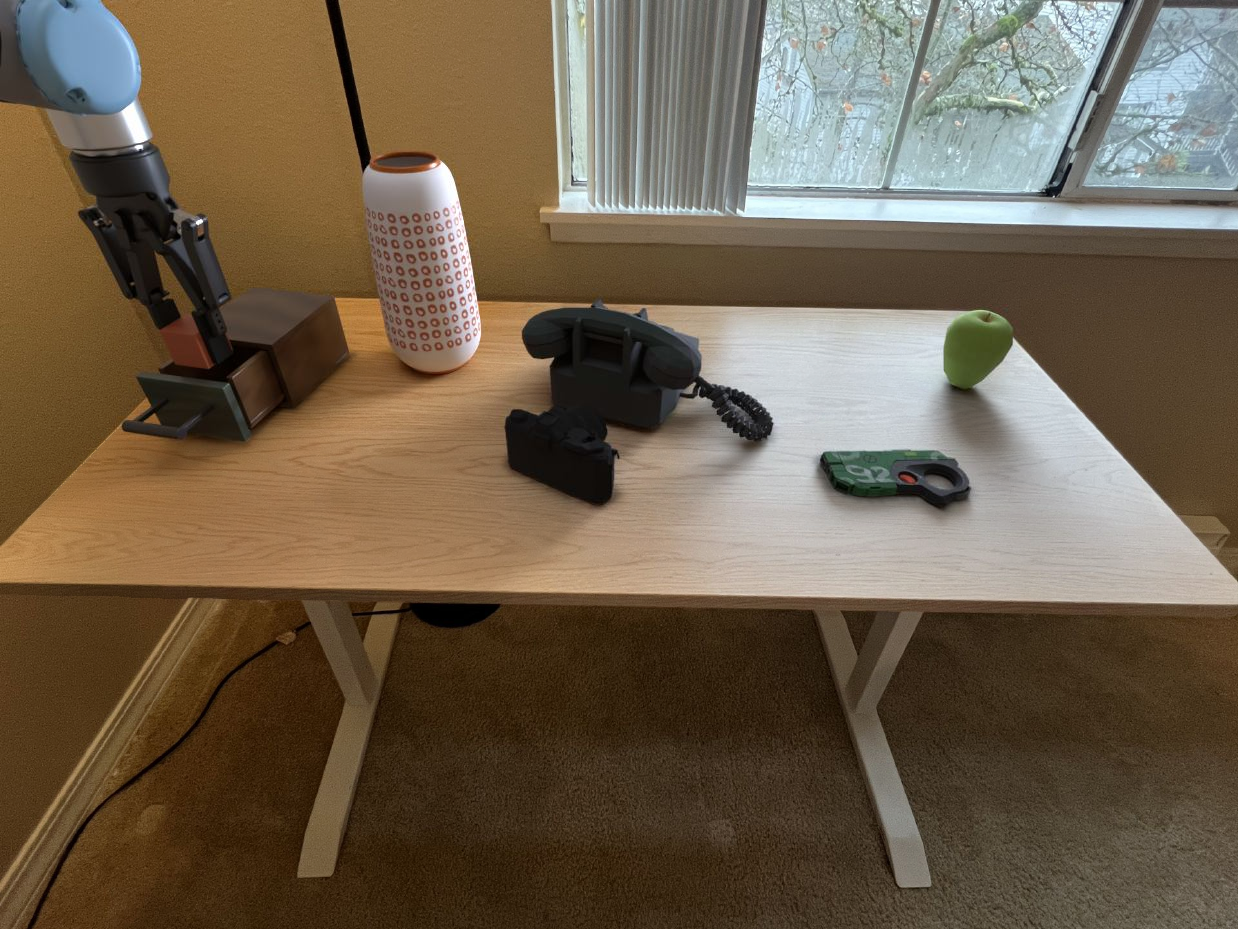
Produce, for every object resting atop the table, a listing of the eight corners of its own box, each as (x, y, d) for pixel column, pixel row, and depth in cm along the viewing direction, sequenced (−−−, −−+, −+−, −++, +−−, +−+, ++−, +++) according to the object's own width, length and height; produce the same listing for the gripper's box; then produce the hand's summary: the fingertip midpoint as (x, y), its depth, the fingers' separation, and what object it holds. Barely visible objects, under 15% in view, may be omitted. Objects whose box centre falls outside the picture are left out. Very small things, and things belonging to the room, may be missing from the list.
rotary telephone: (790, 381, 94) (812, 284, 85) (760, 468, 79) (782, 360, 69) (581, 337, 103) (580, 245, 94) (517, 406, 88) (508, 304, 78)
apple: (928, 364, 99) (955, 294, 92) (987, 376, 97) (1019, 304, 90) (928, 393, 93) (957, 320, 86) (992, 405, 91) (1026, 331, 83)
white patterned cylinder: (374, 367, 95) (322, 162, 77) (436, 330, 104) (403, 140, 86) (443, 392, 90) (406, 180, 72) (502, 352, 99) (481, 155, 81)
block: (208, 369, 76) (193, 335, 73) (175, 364, 76) (158, 330, 74) (233, 350, 79) (220, 317, 76) (201, 346, 80) (186, 313, 77)
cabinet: (294, 408, 86) (271, 344, 80) (210, 396, 88) (181, 333, 82) (350, 355, 97) (334, 295, 91) (274, 345, 99) (253, 286, 93)
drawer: (211, 474, 74) (184, 418, 69) (124, 460, 76) (91, 405, 71) (307, 384, 89) (290, 333, 84) (233, 374, 91) (212, 324, 86)
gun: (845, 502, 72) (819, 447, 80) (841, 511, 73) (816, 456, 81) (985, 500, 73) (946, 446, 81) (980, 509, 74) (942, 455, 82)
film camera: (644, 467, 78) (648, 406, 73) (600, 513, 72) (601, 450, 66) (544, 426, 84) (541, 367, 79) (496, 465, 78) (488, 403, 72)
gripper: (217, 143, 65) (288, 349, 79) (66, 131, 67) (162, 333, 82) (163, 163, 59) (249, 380, 74) (0, 148, 61) (115, 362, 76)
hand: (203, 355), depth 78 cm, fingers closed on block, 4 cm apart
